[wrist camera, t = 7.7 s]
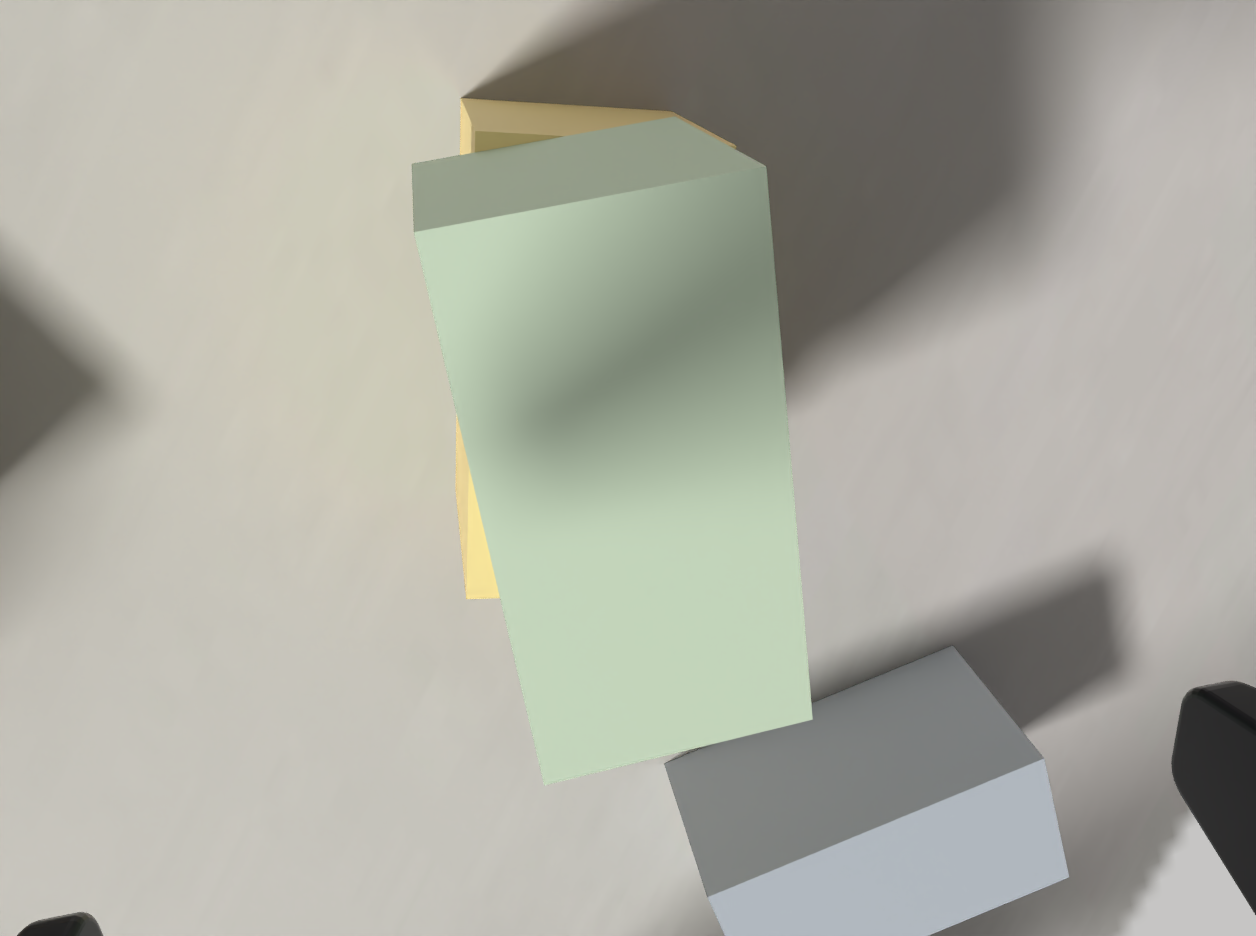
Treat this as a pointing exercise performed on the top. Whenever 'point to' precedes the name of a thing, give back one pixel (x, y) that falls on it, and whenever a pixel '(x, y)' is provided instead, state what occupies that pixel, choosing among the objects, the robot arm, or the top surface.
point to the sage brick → (624, 433)
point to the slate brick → (873, 811)
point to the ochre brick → (491, 130)
